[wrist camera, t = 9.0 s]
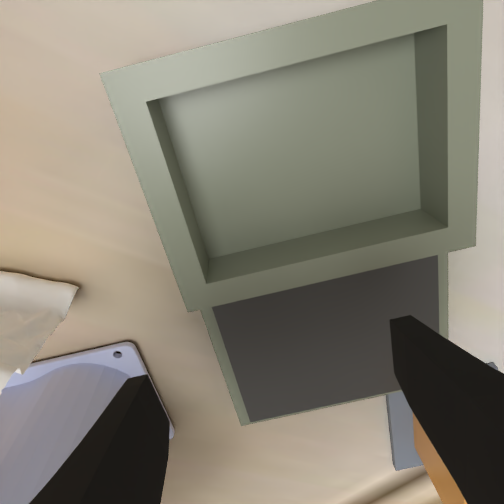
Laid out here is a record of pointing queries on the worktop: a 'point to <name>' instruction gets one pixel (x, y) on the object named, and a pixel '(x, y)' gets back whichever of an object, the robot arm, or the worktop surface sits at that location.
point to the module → (436, 467)
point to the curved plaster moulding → (28, 318)
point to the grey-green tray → (312, 189)
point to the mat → (403, 431)
